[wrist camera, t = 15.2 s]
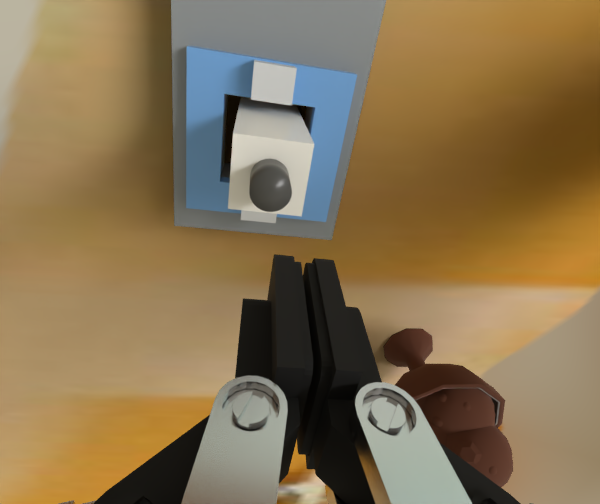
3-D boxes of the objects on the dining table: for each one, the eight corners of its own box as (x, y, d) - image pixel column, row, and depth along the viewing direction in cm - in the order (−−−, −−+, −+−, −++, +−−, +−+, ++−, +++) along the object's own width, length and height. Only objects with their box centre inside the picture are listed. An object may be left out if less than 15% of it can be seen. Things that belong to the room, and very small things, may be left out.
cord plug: (296, 105, 27) (319, 156, 17) (288, 159, 29) (305, 233, 19) (240, 97, 27) (230, 144, 16) (236, 153, 29) (225, 225, 18)
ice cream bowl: (413, 291, 37) (494, 430, 25) (475, 340, 42) (570, 480, 29) (338, 353, 41) (375, 503, 28) (403, 392, 45) (459, 537, 33)
